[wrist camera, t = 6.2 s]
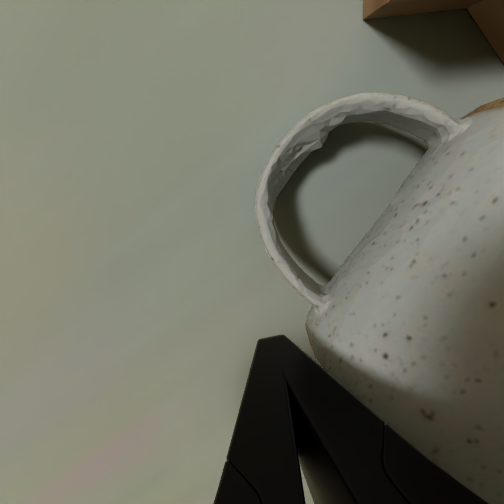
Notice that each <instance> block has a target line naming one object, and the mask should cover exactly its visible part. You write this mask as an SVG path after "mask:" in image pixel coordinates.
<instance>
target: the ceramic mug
mask: <svg viewBox="0 0 504 504" xmlns="http://www.w3.org/2000/svg"><path fill="white" fill-rule="evenodd" d="M360 121H370V122H374V123H377V124H387V125H389V126H392V127H395V128H398V129H400V130H404V131H407V132H409V133H411V134H413V135H415V136H417V137H419V138H421V139H423V140H424V141H425V142H426V143H427V144H428V148H429V149H428V150H427V152H426V153H425V154H424V155H423V156H422V158H421V159H420V160H419V162H418V163H417V165H416V166H415V168H414V169H413V170H412V171H411V173H410V175H409V176H408V177H407V178H406V179H405V181H404V182H403V184H402V186H401V187H400V189H399V191H398V192H397V194H396V196H395V197H394V199H393V200H392V202H391V203H390V205H389V206H388V207H387V209H386V210H385V211H384V212H383V214H382V215H381V217H380V218H379V220H378V221H377V222H376V223H375V224H374V225H373V227H372V228H371V229H370V231H369V232H368V233H367V234H366V236H365V237H364V238H363V239H362V241H361V242H360V243H359V244H358V245H357V246H356V248H355V249H354V251H353V252H352V253H351V254H350V256H349V257H348V258H347V259H346V261H345V262H344V264H343V265H341V266H340V267H339V269H338V271H337V272H336V274H335V276H334V277H333V278H332V279H331V281H330V282H328V284H327V285H325V286H322V285H320V284H318V283H316V282H315V281H314V280H313V279H312V278H311V277H309V276H308V275H307V274H306V273H305V272H304V271H303V270H302V269H301V268H300V267H299V266H298V265H297V264H296V262H295V261H294V260H293V259H292V258H291V256H290V255H289V253H288V252H287V250H286V249H285V247H284V246H283V244H282V243H281V241H280V239H279V236H278V233H277V231H276V229H275V225H274V217H273V209H274V206H275V203H276V198H277V196H278V194H279V193H280V192H281V190H282V189H283V188H284V186H285V185H286V183H287V182H288V180H289V179H290V177H291V176H292V174H293V173H294V172H295V170H296V169H297V168H298V166H299V165H300V164H301V163H302V162H303V161H304V159H305V158H306V157H307V156H308V155H309V154H310V153H311V152H312V151H314V150H316V149H319V148H321V147H322V146H323V144H324V142H325V141H326V139H327V136H328V132H329V131H331V130H333V129H334V128H335V127H337V126H338V125H340V124H347V123H355V122H360ZM255 194H256V198H255V218H256V223H257V227H258V231H259V234H260V237H261V240H262V243H263V245H264V247H265V249H266V252H267V255H268V256H269V258H270V259H271V261H272V262H273V264H274V265H275V267H276V268H277V269H278V271H279V272H280V273H281V275H282V276H283V277H284V279H285V280H286V281H287V282H288V283H289V284H290V285H291V286H292V287H293V288H294V289H295V290H296V291H297V292H298V293H299V294H300V295H301V296H302V297H303V298H304V299H306V300H307V301H308V302H309V303H310V304H311V305H313V306H312V307H311V309H310V311H309V313H308V315H307V320H306V330H307V334H308V338H309V341H310V344H311V346H312V349H313V351H314V354H315V356H316V357H317V359H318V360H319V362H320V363H321V365H322V366H323V368H324V369H325V371H326V372H328V373H329V374H330V375H331V376H332V377H333V378H335V379H336V380H337V381H338V382H339V383H340V384H341V385H343V386H344V387H345V388H346V389H347V390H348V391H350V392H351V393H352V394H353V395H354V396H355V397H357V398H358V399H359V400H360V401H361V402H362V403H363V404H365V405H366V406H367V407H368V408H369V409H370V410H372V411H373V412H374V413H375V414H376V415H377V416H379V417H380V418H381V419H382V420H383V421H384V422H385V425H386V424H388V425H389V426H390V427H391V428H393V429H394V430H395V431H396V432H397V433H398V434H399V435H401V436H402V437H403V438H404V439H405V440H407V441H408V442H409V443H410V444H411V445H413V446H414V447H415V448H416V449H417V450H419V451H420V452H421V453H422V454H424V455H425V456H426V457H427V458H428V459H430V460H431V461H432V462H434V463H435V464H436V465H438V466H439V467H440V468H442V469H443V470H444V471H446V472H447V473H448V474H450V475H451V476H452V477H453V478H455V479H456V480H457V481H459V482H460V483H461V484H463V485H464V486H466V487H467V488H468V489H470V490H471V491H472V492H474V493H475V494H477V495H478V496H479V497H481V498H482V499H483V500H485V501H486V502H488V503H489V504H504V98H501V99H498V100H496V101H493V102H490V103H487V104H485V105H482V106H480V107H479V108H477V109H475V110H474V111H472V112H471V113H469V114H467V115H466V116H464V117H463V118H461V119H459V120H453V119H452V118H451V117H450V116H449V115H448V114H447V113H446V112H444V111H442V110H439V109H437V108H434V107H433V106H431V105H430V104H428V103H427V102H424V101H418V100H415V99H412V98H409V97H406V96H404V95H399V94H386V93H375V92H369V93H358V94H355V95H351V96H348V97H344V98H341V99H338V100H334V101H332V102H329V103H327V104H325V105H324V106H322V107H319V108H317V109H315V110H313V111H312V112H310V113H308V114H307V115H305V116H304V117H303V118H302V119H301V120H300V121H299V122H298V123H297V124H295V125H294V126H293V127H292V128H291V129H290V130H289V131H288V133H287V134H286V135H285V136H284V137H283V138H282V140H281V141H280V142H279V143H278V145H277V146H276V148H275V149H274V151H273V152H272V154H271V155H270V157H269V158H268V160H267V161H266V163H265V165H264V168H263V170H262V173H261V175H260V178H259V180H258V183H257V188H256V190H255Z"/></svg>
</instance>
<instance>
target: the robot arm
mask: <svg viewBox="0 0 504 504" xmlns="http://www.w3.org/2000/svg"><path fill="white" fill-rule="evenodd" d="M299 462H300V464H299ZM300 465H301V468H302V470H303V473H304V476H305V479H306V482H307V484H308V487H309V490H310V493H311V495H312V498H313V501H314V504H489V503H488V502H486V501H485V500H483V499H482V498H481V497H479V496H478V495H477V494H475V493H474V492H472V491H471V490H470V489H468V488H467V487H466V486H464V485H463V484H461V483H460V482H459V481H457V480H456V479H455V478H453V477H452V476H451V475H450V474H448V473H447V472H446V471H444V470H443V469H442V468H440V467H439V466H438V465H436V464H435V463H434V462H432V461H431V460H430V459H428V458H427V457H426V456H425V455H424V454H422V453H421V452H420V451H419V450H417V449H416V448H415V447H414V446H413V445H411V444H410V443H409V442H408V441H407V440H405V439H404V438H403V437H402V436H401V435H399V434H398V433H397V432H396V431H395V430H394V429H393V428H391V427H390V426H389V425H388V424H386V425H385V422H384V421H383V420H382V419H381V418H380V417H379V416H377V415H376V414H375V413H374V412H373V411H372V410H370V409H369V408H368V407H367V406H366V405H365V404H363V403H362V402H361V401H360V400H359V399H358V398H357V397H355V396H354V395H353V394H352V393H351V392H350V391H348V390H347V389H346V388H345V387H344V386H343V385H341V384H340V383H339V382H338V381H337V380H336V379H335V378H333V377H332V376H331V375H330V374H329V373H328V372H326V371H325V370H324V369H323V368H322V367H321V366H319V365H318V364H317V363H316V362H315V361H314V360H313V359H311V358H310V357H309V356H308V355H307V354H306V353H304V352H303V351H302V350H301V349H300V348H299V347H297V346H296V345H295V344H294V343H293V342H292V341H291V340H289V339H288V338H287V337H286V336H285V335H277V336H272V337H267V338H262V339H259V340H258V342H257V346H256V349H255V353H254V357H253V361H252V364H251V368H250V372H249V376H248V379H247V383H246V387H245V391H244V394H243V398H242V402H241V406H240V409H239V413H238V417H237V421H236V424H235V428H234V432H233V436H232V439H231V443H230V447H229V451H228V454H227V461H226V462H225V465H224V469H223V472H222V476H221V480H220V483H219V487H218V490H217V493H216V497H215V500H214V503H213V504H305V497H304V491H303V484H302V477H301V470H300Z"/></svg>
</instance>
